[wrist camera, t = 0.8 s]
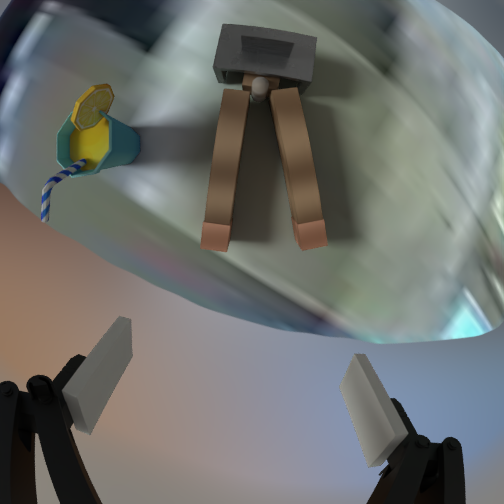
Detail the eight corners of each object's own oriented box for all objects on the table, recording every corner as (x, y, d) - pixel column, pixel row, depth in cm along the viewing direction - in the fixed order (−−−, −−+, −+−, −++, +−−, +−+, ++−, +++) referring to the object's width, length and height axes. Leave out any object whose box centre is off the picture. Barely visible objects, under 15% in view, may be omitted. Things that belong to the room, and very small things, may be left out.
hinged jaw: (267, 101, 31) (270, 90, 26) (291, 98, 31) (298, 86, 26) (294, 239, 36) (302, 250, 31) (317, 235, 36) (327, 245, 31)
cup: (130, 210, 35) (67, 237, 21) (86, 193, 34) (15, 211, 20) (164, 110, 31) (113, 78, 17) (116, 98, 30) (52, 70, 16)
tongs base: (234, 58, 29) (232, 42, 24) (280, 64, 30) (284, 49, 25) (206, 237, 36) (200, 248, 31) (252, 243, 36) (252, 255, 31)
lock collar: (226, 43, 28) (219, 6, 19) (307, 55, 29) (325, 22, 19) (218, 82, 30) (207, 53, 20) (301, 95, 30) (320, 69, 21)
